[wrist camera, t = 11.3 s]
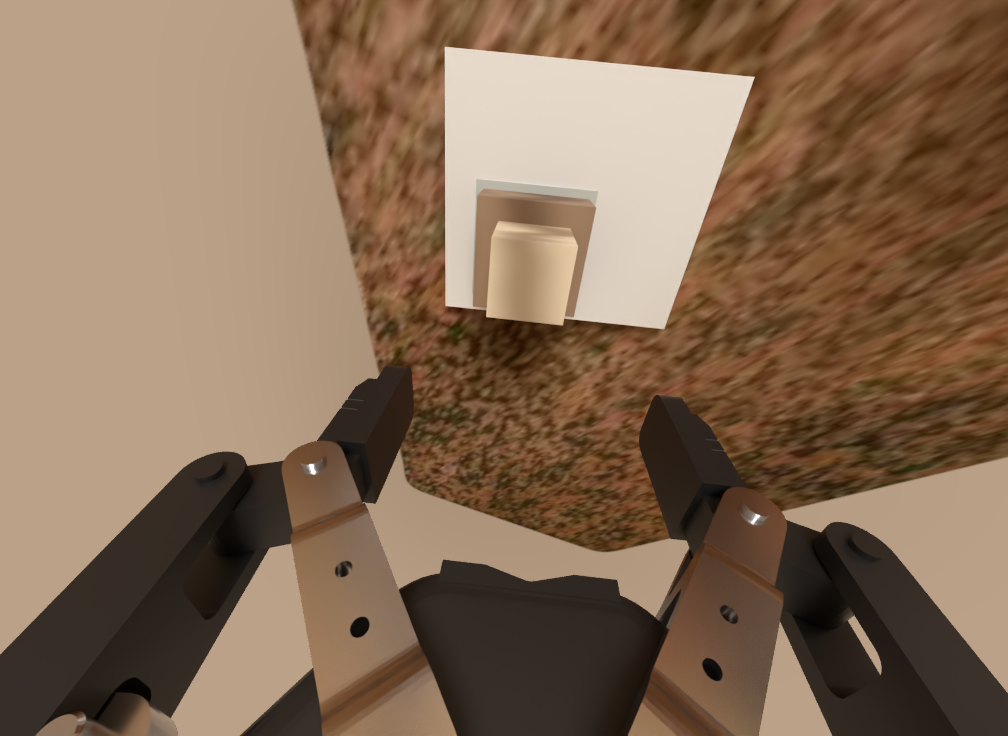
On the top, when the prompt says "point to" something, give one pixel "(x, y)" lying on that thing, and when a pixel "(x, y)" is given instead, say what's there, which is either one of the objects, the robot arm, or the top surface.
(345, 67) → the top surface
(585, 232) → the walnut base
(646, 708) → the robot arm
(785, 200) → the top surface
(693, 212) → the plate
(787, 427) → the top surface
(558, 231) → the maple cube
